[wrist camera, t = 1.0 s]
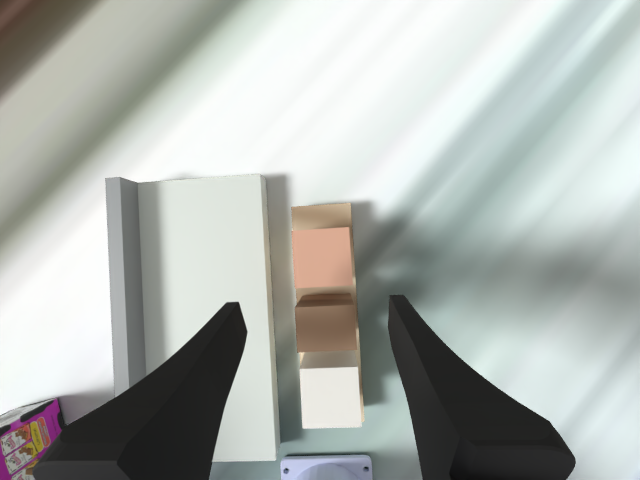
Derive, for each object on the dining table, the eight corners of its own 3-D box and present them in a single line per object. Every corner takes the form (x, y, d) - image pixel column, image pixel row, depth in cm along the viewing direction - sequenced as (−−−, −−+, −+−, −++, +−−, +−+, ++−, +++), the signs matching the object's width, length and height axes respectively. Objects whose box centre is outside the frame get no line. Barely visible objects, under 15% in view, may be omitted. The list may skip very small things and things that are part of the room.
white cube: (356, 395, 23) (361, 427, 19) (308, 397, 23) (302, 428, 19) (353, 346, 23) (358, 366, 19) (305, 348, 23) (299, 368, 19)
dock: (280, 443, 25) (270, 480, 21) (152, 446, 26) (118, 483, 22) (265, 179, 26) (253, 167, 22) (140, 188, 26) (105, 178, 22)
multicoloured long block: (361, 404, 25) (371, 464, 18) (306, 406, 25) (296, 466, 18) (349, 207, 26) (354, 192, 19) (295, 210, 26) (281, 197, 19)
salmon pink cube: (349, 278, 23) (352, 285, 19) (301, 281, 23) (294, 288, 19) (346, 230, 23) (349, 227, 19) (298, 233, 23) (291, 230, 19)
